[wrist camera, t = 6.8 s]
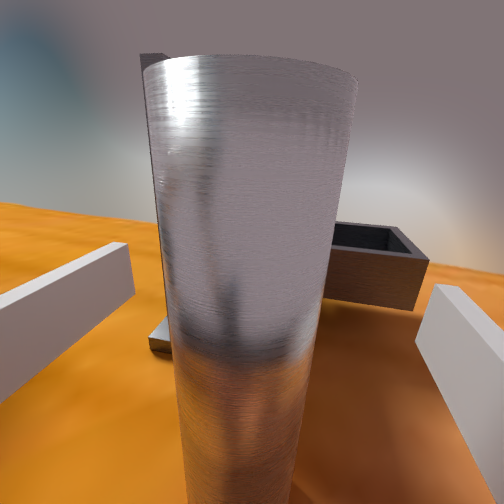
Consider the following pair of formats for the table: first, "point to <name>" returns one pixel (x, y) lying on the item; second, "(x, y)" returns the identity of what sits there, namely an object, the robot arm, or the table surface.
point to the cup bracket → (344, 261)
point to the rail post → (245, 254)
